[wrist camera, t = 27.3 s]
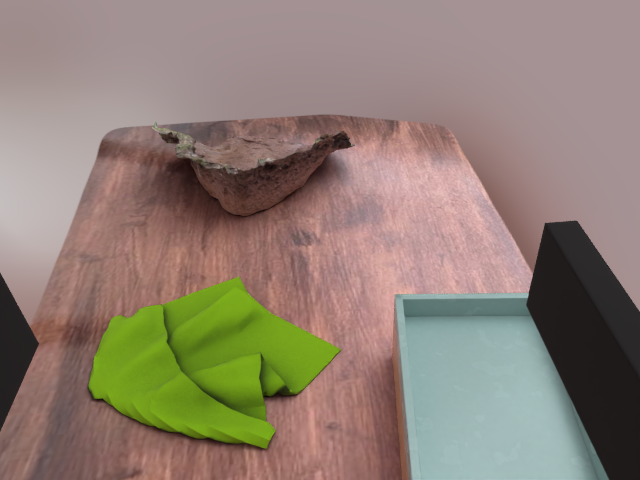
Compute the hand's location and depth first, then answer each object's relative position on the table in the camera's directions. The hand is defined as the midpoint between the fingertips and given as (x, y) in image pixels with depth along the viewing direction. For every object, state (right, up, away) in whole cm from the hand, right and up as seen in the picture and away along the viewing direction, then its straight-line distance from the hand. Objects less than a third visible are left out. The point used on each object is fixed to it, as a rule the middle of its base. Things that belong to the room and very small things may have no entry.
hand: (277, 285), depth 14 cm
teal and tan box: (+13, -14, +30) cm, 35 cm away
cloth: (-8, -10, +37) cm, 39 cm away
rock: (-7, +9, +61) cm, 62 cm away
